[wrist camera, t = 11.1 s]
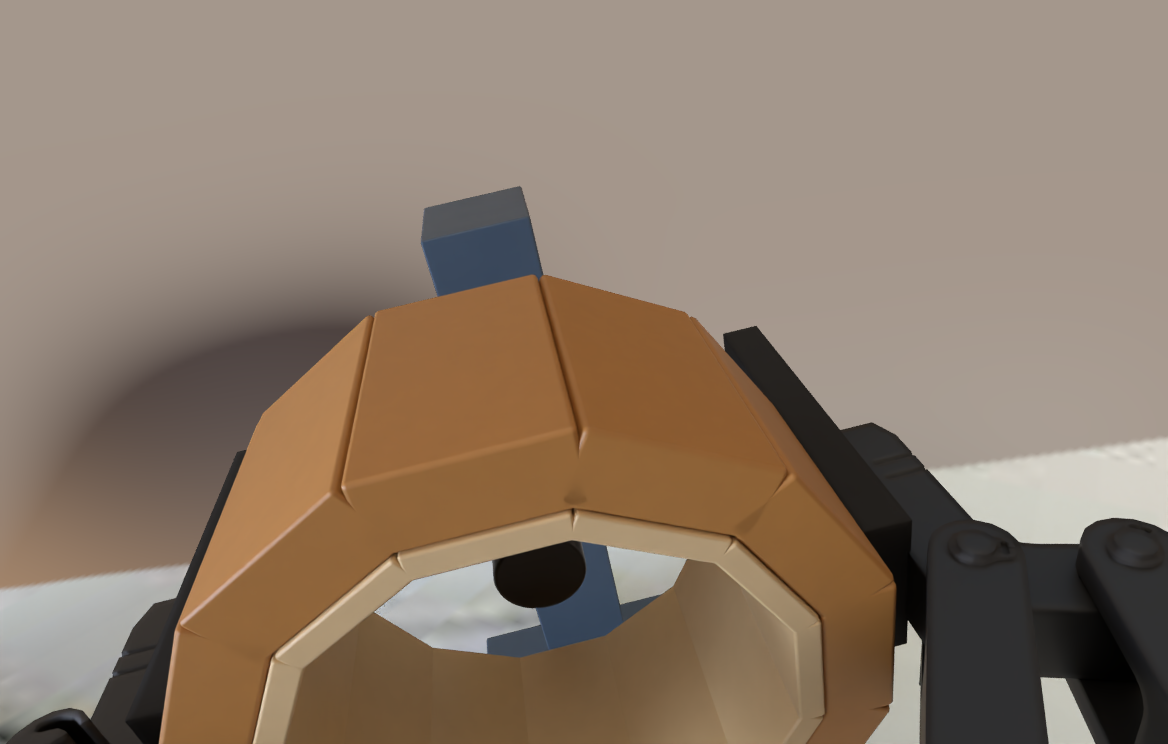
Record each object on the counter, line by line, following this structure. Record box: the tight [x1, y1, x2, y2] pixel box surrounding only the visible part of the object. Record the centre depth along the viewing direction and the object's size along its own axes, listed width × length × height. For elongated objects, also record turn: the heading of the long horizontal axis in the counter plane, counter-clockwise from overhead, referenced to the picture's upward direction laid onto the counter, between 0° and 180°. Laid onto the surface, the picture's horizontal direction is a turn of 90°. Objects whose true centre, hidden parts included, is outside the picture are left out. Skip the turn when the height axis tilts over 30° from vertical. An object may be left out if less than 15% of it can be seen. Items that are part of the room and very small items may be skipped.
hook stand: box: [421, 186, 662, 658], centre depth 23 cm, size 9×13×21 cm
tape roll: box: [159, 275, 896, 744], centre depth 13 cm, size 10×5×10 cm, turn 99°
